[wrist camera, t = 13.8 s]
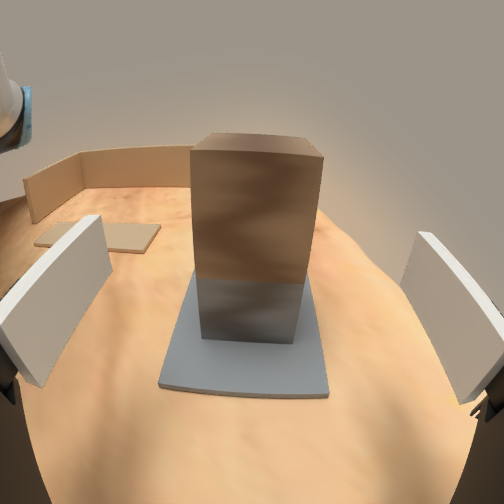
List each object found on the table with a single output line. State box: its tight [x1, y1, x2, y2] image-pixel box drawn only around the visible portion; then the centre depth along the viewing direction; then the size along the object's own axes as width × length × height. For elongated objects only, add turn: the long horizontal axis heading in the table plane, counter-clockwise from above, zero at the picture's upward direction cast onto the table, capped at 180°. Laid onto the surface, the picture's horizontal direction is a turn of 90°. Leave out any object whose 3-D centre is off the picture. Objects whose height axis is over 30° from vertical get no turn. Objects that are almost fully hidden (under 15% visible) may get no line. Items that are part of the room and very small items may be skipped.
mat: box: [158, 269, 329, 398], centre depth 21 cm, size 10×14×1 cm
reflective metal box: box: [190, 133, 324, 344], centre depth 18 cm, size 6×6×12 cm
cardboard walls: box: [23, 145, 195, 254], centre depth 36 cm, size 28×22×7 cm
